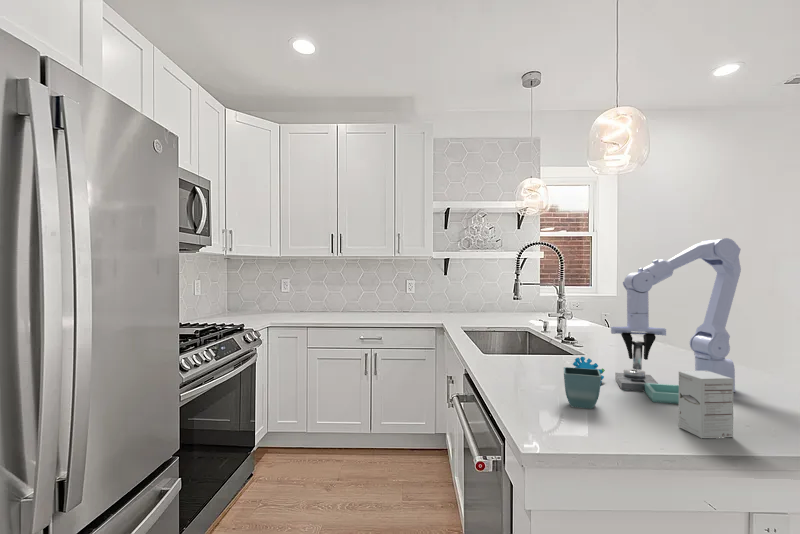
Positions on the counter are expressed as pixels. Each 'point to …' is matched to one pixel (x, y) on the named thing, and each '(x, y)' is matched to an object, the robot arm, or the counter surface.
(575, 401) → the flower pot
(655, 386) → the tray
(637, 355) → the pin
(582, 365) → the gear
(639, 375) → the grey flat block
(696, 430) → the supplement box
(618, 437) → the counter surface
